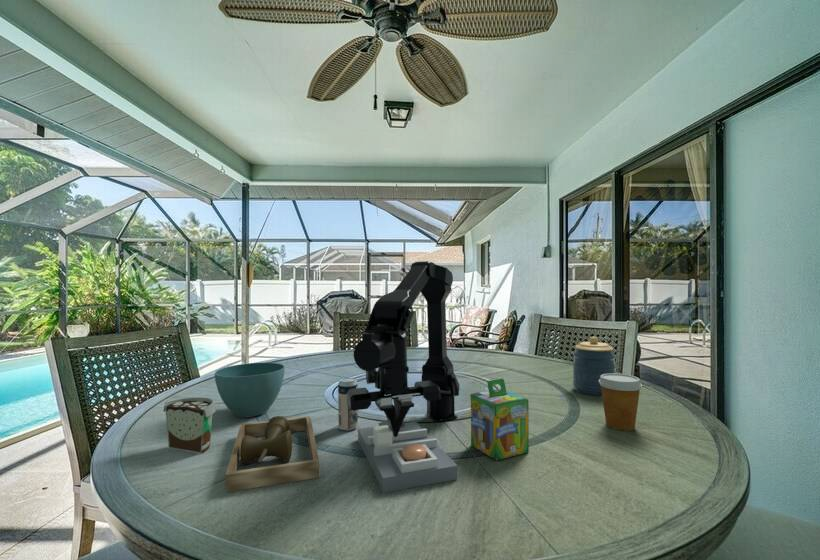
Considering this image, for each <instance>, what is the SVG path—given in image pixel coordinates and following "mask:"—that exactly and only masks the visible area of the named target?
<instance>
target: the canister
mask: <svg viewBox="0 0 820 560" xmlns="http://www.w3.org/2000/svg"><path fill="white" fill-rule="evenodd" d="M574 348H575V350H574V351H573V352H572V356H573V358H574V359H573V362H572V367H573V369H572V372H573V374H572V375H573V376H572V377H573V378H572V387H573V390H574V391H576V392H578V393H581V394H585V395H588V396H590V395H591V396H597V397H598V396H599V397H600V396H601V397H602V391H601V385H600V383H599V379H600V376H601V375H602V374H609V373H615V374H617V370H616V369H617V365H616V363H615V362H616V361H615V359H616V358H617V355H616V354H615V353H613V350H614V347H613V346H611V345H609V344H608V343H605V342H599V339H598V338H597V336H591V337H589V341H582V342H581V341H580V342H579V343H578V344H576V345H575V346H574Z"/></svg>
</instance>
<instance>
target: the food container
mask: <svg viewBox="0 0 820 560" xmlns="http://www.w3.org/2000/svg"><path fill="white" fill-rule="evenodd" d="M163 412H164V413H165V419H166V420H165V421H166V431H167V433H166V434H167V442H168V443H167V444H168V449H171V448H172V449H171V450H176V449H177V451H182V450H183V452H188V451H189V452H188V453H195V454H200V455H203V454H204V453H205V452H207V451H208V450H209V449H210V446H211V434H212V422H213V414H215V413H216V406H215V403H214V401H213V399H211V398H209V397H196V396H195V397H186V398H185V397H184V398H179V399H178V398H177V399H173V400H170V401H166V402H164V406H163Z"/></svg>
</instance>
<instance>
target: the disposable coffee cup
mask: <svg viewBox="0 0 820 560" xmlns="http://www.w3.org/2000/svg"><path fill="white" fill-rule="evenodd" d="M599 383H600V385H601V391H602V396H601V397H602V403H603V404H602V405H603V412H604V417H605V418H604V419H605V425H606V426H607V427H608V428H611V429H614V430H618V431H633V430H635V429H636V424H637V423H636V420H637V413H638V407H639V398H640V390H641V389H642V387H643V384H642V383H641V380H640V378H639V377H637V376H635V375H630V374H623V373H616V374H615V373H609V374H602V375H601V376H600V379H599Z"/></svg>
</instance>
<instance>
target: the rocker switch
mask: <svg viewBox="0 0 820 560" xmlns="http://www.w3.org/2000/svg"><path fill="white" fill-rule="evenodd" d="M404 423H405V422H404V421H403V423H402V425H401V427H404V426H405V425H404ZM383 425H388V427H389V428H390V425H389V422H388V419H386V420H384V421H381V422H378V426H383ZM390 429H391V428H390Z"/></svg>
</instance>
